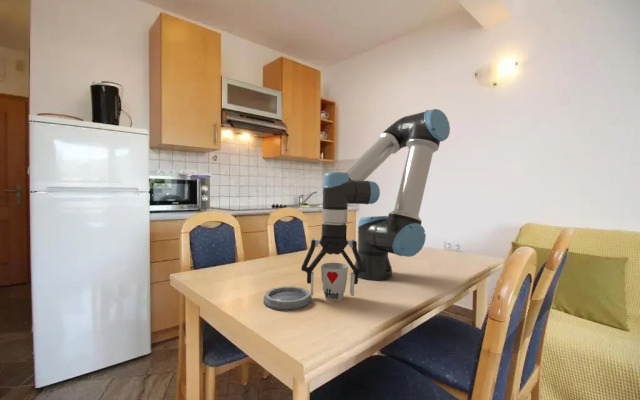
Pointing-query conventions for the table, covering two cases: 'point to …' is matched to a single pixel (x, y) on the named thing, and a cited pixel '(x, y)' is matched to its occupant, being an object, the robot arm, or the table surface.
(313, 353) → the table surface
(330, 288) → the cup
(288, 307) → the tray
